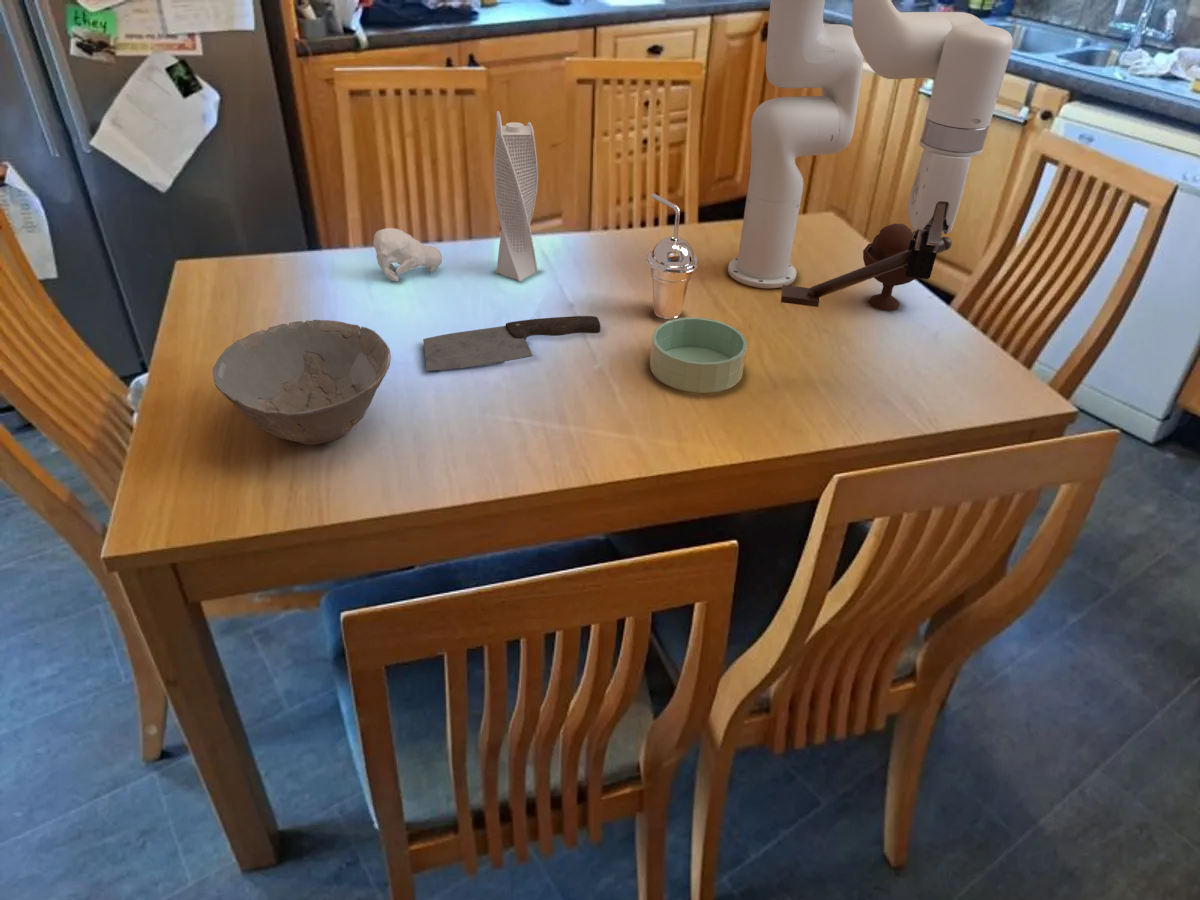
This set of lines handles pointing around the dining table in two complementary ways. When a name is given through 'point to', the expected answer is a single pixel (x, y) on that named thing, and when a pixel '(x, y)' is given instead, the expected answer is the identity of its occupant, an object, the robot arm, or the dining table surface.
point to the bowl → (697, 355)
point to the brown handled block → (849, 278)
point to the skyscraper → (515, 197)
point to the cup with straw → (670, 270)
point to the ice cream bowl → (882, 247)
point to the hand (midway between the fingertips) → (916, 272)
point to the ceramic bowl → (304, 378)
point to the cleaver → (498, 341)
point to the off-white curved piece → (403, 252)
